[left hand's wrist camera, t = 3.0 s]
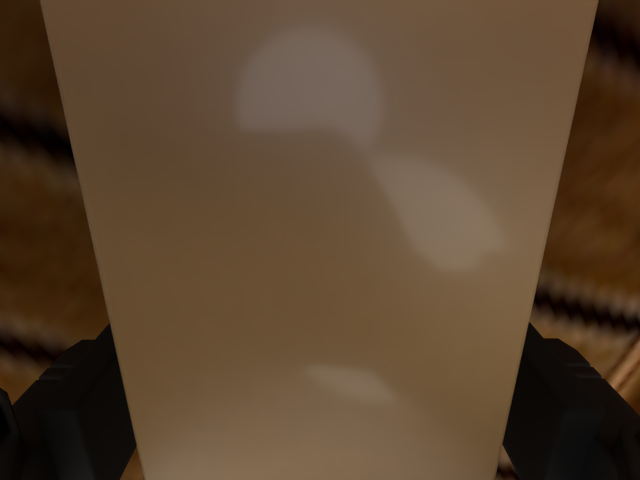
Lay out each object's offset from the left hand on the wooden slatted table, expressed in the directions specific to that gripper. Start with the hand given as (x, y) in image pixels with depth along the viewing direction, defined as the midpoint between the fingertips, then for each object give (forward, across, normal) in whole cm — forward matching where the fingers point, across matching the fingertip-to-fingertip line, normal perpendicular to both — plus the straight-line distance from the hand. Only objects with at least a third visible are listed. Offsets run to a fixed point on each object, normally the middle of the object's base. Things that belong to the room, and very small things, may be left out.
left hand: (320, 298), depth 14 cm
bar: (+1, 0, -7) cm, 7 cm away
